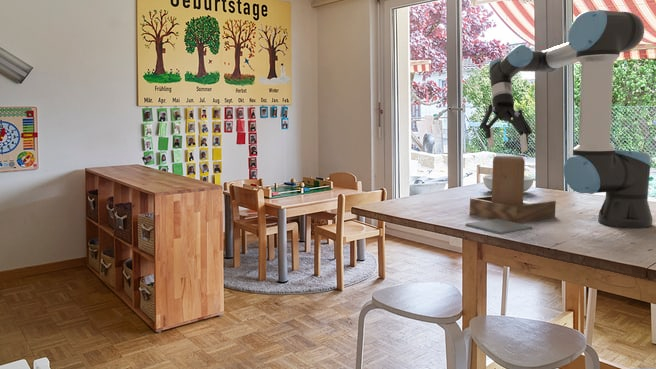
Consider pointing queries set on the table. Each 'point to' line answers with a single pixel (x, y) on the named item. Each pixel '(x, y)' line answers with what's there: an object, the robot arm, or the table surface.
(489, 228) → the mat
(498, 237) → the table surface
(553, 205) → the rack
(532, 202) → the offcut slab upper
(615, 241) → the table surface
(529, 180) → the serving bowl
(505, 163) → the wooden block
